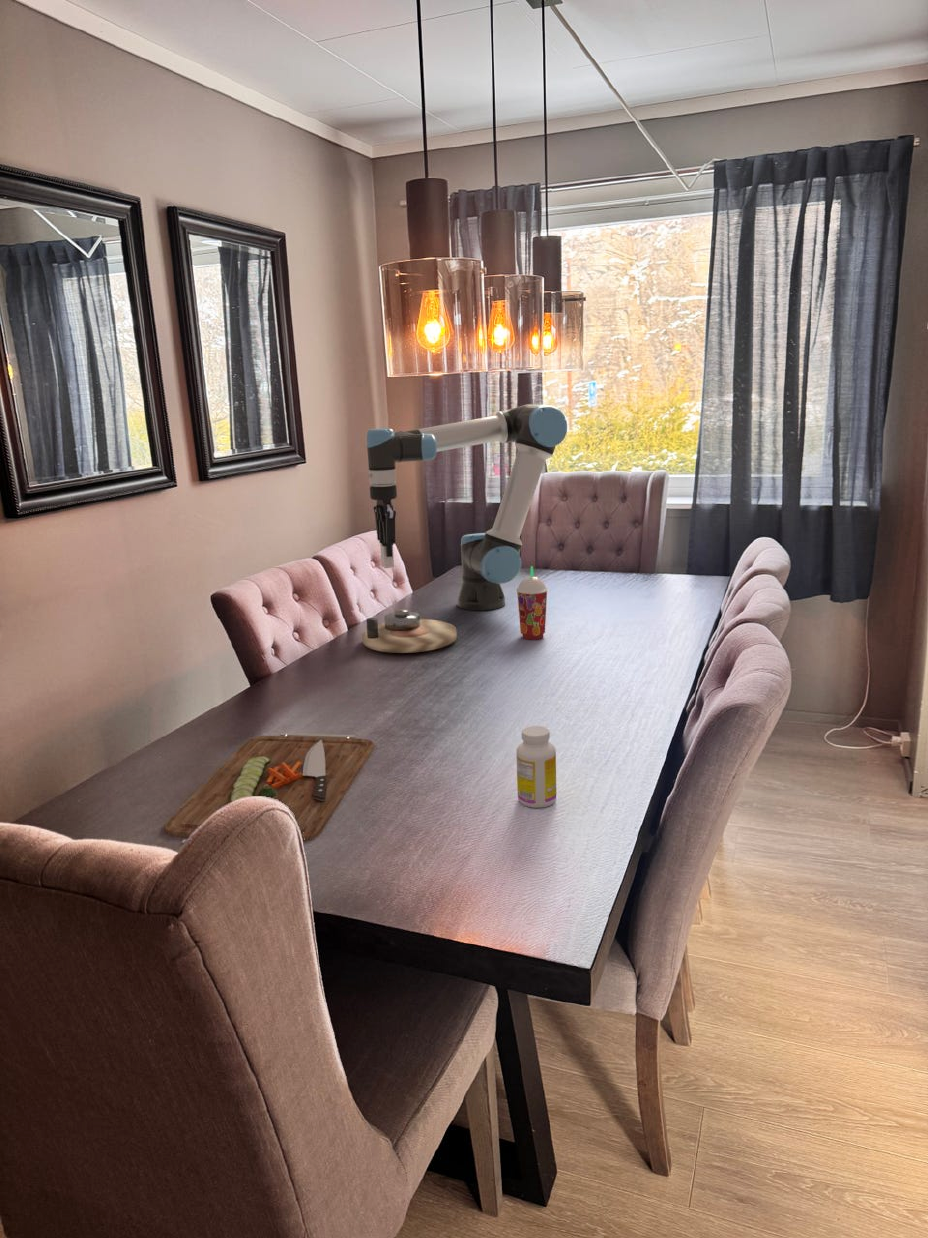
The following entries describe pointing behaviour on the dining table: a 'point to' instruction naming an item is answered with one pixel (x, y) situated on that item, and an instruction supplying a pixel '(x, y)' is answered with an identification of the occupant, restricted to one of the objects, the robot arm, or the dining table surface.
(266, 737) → the chopping board
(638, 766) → the dining table surface
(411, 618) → the cover
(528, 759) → the supplement bottle
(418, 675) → the dining table surface
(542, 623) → the smoothie
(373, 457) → the robot arm
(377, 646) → the turntable
